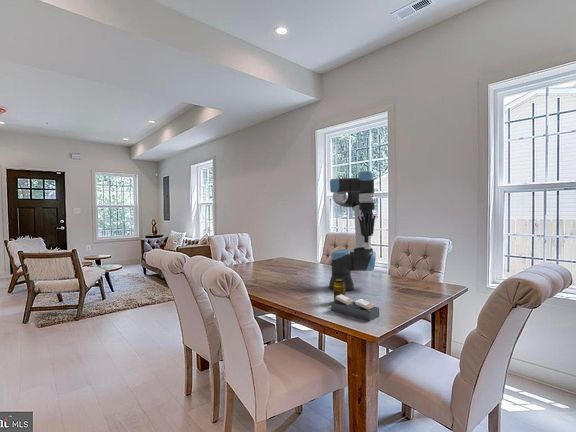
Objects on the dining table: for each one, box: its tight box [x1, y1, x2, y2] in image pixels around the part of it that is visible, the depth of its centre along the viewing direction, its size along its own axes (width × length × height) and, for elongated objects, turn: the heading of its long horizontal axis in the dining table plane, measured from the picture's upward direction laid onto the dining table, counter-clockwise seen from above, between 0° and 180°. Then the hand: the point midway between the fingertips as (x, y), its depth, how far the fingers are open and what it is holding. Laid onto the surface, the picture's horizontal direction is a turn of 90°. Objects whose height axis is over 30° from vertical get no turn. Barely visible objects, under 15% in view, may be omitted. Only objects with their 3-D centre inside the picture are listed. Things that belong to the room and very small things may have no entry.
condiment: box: [333, 279, 346, 301], centre depth 160 cm, size 7×8×12 cm
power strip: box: [329, 300, 380, 322], centre depth 143 cm, size 25×8×5 cm, turn 44°
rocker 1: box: [336, 294, 354, 305], centre depth 146 cm, size 7×4×2 cm, turn 44°
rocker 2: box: [354, 298, 375, 310], centre depth 138 cm, size 7×4×2 cm, turn 44°
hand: (367, 248), depth 154 cm, fingers closed
